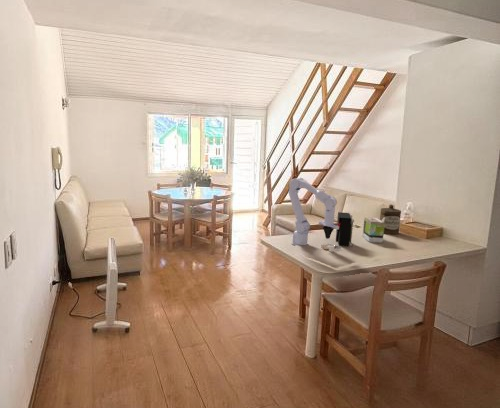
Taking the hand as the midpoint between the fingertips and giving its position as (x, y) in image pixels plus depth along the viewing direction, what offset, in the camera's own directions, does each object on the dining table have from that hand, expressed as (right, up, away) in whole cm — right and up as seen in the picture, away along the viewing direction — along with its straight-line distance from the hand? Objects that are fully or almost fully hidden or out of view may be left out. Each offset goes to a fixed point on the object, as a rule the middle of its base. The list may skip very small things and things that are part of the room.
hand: (327, 238), depth 216 cm
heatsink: (+3, -8, +2) cm, 9 cm away
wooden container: (+60, -1, +55) cm, 81 cm away
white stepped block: (+2, -8, -3) cm, 8 cm away
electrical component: (+14, -6, +18) cm, 24 cm away
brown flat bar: (+2, -7, +3) cm, 8 cm away
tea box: (+39, -4, +33) cm, 51 cm away
